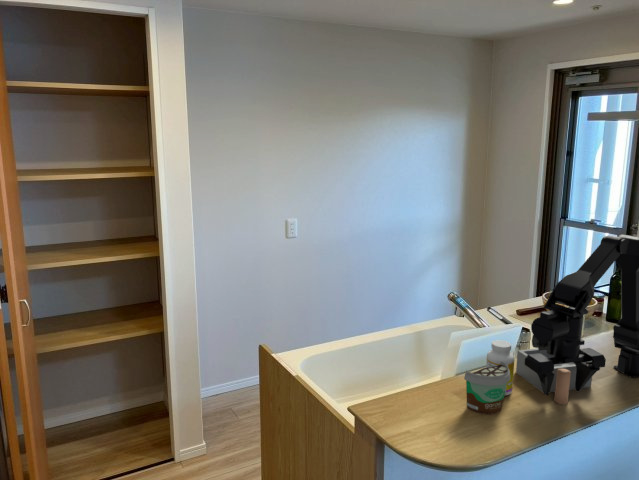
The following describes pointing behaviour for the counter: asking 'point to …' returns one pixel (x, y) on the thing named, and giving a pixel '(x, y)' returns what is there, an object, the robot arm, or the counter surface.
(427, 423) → the counter surface
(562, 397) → the peg
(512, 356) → the supplement bottle
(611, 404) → the counter surface
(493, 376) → the food container
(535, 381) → the bore box
